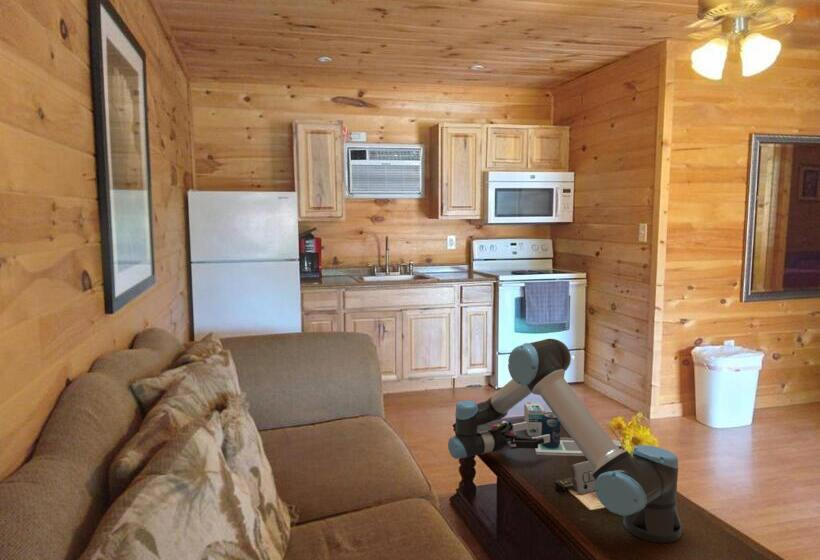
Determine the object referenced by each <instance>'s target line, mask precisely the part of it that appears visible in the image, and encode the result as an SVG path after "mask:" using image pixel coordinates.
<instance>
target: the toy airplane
mask: <svg viewBox="0 0 820 560" xmlns="http://www.w3.org/2000/svg"><path fill="white" fill-rule="evenodd" d="M508 422H509V421H507V420H502V421H501V424H499V423H498V424H497V423H495V424H494V425H492V426H491V429H494V428H497V427H498V426H500V425H502V424H503V423H507V424H508ZM491 429H490V430H491ZM510 434H511V435H516V434H517V431H515V432H512V430H511V432H510Z"/></svg>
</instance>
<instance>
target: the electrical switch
mask: <svg viewBox="0 0 820 560" xmlns="http://www.w3.org/2000/svg"><path fill="white" fill-rule="evenodd" d="M569 470H570V475H571V476H570V477H571V481H572V487H573V488H574V489H575V490H574V489H573V490H574V491H577V494H578V495H583V494H587V493H591V492H594V491H595V492H596V488H595V482H596V480H595V479H594V477H593V476H592V465H591V464H590V462H589V461H586V460H585V461H582V462H578V463H574V464H573V463H572V464H569Z"/></svg>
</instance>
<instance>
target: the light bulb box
mask: <svg viewBox="0 0 820 560" xmlns="http://www.w3.org/2000/svg"><path fill="white" fill-rule="evenodd" d="M523 403H524V405H523V407H524V408H523V410H524V411H523V412H524V413H523V415H524V416H523V417H524V418H523V420H524V421H523V422H527V429H526V430H525V431H526V434H527V435H528V436H529V437H538V436H541V430H542V417H543V415H544V413H546V410H545V409H544V407H543V406H542V404H541V402H539V401H537V402H536V401H534V402H532V401H524V402H523Z"/></svg>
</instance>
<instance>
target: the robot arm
mask: <svg viewBox="0 0 820 560" xmlns="http://www.w3.org/2000/svg"><path fill="white" fill-rule="evenodd" d="M571 360H572V356H571V352H570V350H569V348H568V346H567V345H566V344H565V343H564V342H562V341H560V340H558V339H556V338H546V339H542V340H537V341H534V342H529V343H528V342H525V343H523V344H521V345H518V346H516V347H514V348H513V349H512V351H511V352H510V353H509V356H508V364H507V367H508V372H509V375H510V377H511V379H510V381H508V382H507V383H505V384H504V386H502V387H501V388H500V389H499V390H497V391H496V392H495V393H494V394H493V395H492V396H490V397H489V398H488V399H487V400H485V401H481V402H479V403H477V402H475V401H474V400H469V399H468V400H467V399H465V400H460V401H458V402H457V403H456V405H455V414H454V415H455V435H454V436H452V437H450V438H448V442H447V448H448V452H449V454H450V456H451V457H452V458H453V459H456V460H457V459H458V460H459V459H466V458H470V457H473V456H477V455H484V454H488V453H491V452H492V453H493V452H498V451H501V450H503V449H504V447H505V446H510V447H509V448H510V449H511V450H515V449H534V450H535V449H537V448H538V445H539V444H543V443H548V442H550V435H549V434H547V435H543V436H533V437H534V438H532V437H524V436H518V435H511V434H510V432H511V431H512V432H515V431H516V432H520V431H526V429H527V422H524V421H522V422H518V423H513V424H512V422H511V421H507V422H508V424H507V423H503V424H499V425H500V426H498V427H497V428H494V429H488V430H482V431H479V432H478V427H480V426H484V425H487V424H488V423H492V422H494V421H500V420H502V419H503V418H506V417H507V415H508V413H509V411H510V410H512V408H514V407H515V406H517V404H519V403H521V401H523V400H524V399H526V398H527V397H528V396H530V394H533V395H537V396H540V397H541V398H542V399H543V401H544V402H545V404H546V405H547V406H548V408H549V409H550V411H551V412H553V413H554V415H555V416H556V417H557V419H558V420H559V421H560V423H561V425H562V427H563V428H564V430H565V431H566V432H567V434H568V435H569V437H570V438H572V439H573V441H574V442H575V443H576V445H577V446H578V447H579V449H580V450H581V451H582V453H583V454H584V456H583V457H585V459H586V458H587V460H588V461H589V462H590V464H591V465H592V476H593V477H594V479H595V480H596V482H595V488H596V490H595V495H596V497H597V499H598V501H599V502H600V504H601V505H603V507H604V508H606V510H608V511H610V512H611V513H613V514H615V515H619V516H623V521H622V523H623V526H624V528H625V529H626V530H627V531H628V532H629V533H631V535H634V536H635V537H636V538H638V539H641V540H644V541H648V542H653V543H660V544H662V543H664V544H666V543H672V542H676V541H677V540H679V539H681V537H682V523H681V519H680V515H679V512H678V509H677V494H678V493H677V490H678V489H677V488H678V477H679V470H680V469H679V459H678V456H677V455H676V454H675V453H674V452H671V451H670V450H668V449H665V448H662V447H658V446H653V445H648V444H646V445H645V444H640V445H636V446H634V447H633V450H632V453H631V454H632V455H631V454H630V453H629V452H628V450H627V449H626V450H623V449H619V448H617V446H616V445H615V444H614V442H613V441H612V440H613V439H612V438H611V437H610V436H609V435H608V433H607V432H606V431H605V429H604V428H603V427H602V425H601V424H600V423H599V422H598V421H597V419H596V418H595V417H594V416H593V414H592V412H591V411H590V410H589V409H588V407H587V406H586V405H585V404H584V402H583V401H582V400H581V398H580V397H579V396H578V395H577V394H576V392H575V390H574V389H573V388H572V386H570V384H569V383H568V381H567V380H566V379H565V374H566V371H567V370H568V369H569V367H570V365H571V362H572V361H571Z"/></svg>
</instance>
